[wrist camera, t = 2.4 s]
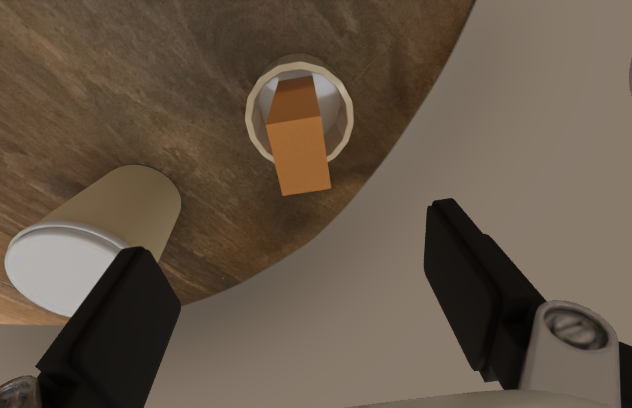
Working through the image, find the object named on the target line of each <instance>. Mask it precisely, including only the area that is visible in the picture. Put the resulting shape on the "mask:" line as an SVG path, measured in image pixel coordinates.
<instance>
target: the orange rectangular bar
mask: <svg viewBox="0 0 632 408" xmlns="http://www.w3.org/2000/svg"><path fill="white" fill-rule="evenodd" d="M266 129H267V133H268V137H269V141H270V146H271V150H272V154H273V158H274V162H275V166H276V170H277V174H278V179H279V183H280V187H281V191H282V195H283V196H285V195H291V194H298V193H305V192H311V191H318V190H324V189H330V188H331V184H330V177H329V170H328V162H327V155H326V148H325V141H324V134H323V127H322V120H321V114H320V109H319V104H318V100H317V95H316V90H315V85H314V81H313V76H306V77H300V78H294V79H288V80H282V81H278V84H277V88H276V91H275V94H274V98H273V101H272V105H271V108H270V112H269V115H268V119H267V122H266Z"/></svg>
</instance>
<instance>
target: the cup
mask: <svg viewBox="0 0 632 408" xmlns="http://www.w3.org/2000/svg"><path fill="white" fill-rule="evenodd" d="M306 76H313V81H314V85H315V90H316V95H317V100H318V104H319V109H320V114H321V120H322V127H323V134H324V141H325V148H326V155H327V162H329V161H330V160H332V159H334V158H335V157H336V156H337V155H338V154H339V153H340V151H341V150H342V149H343V148H344V146H345V145H346V144H347V142H348V140H349V137H350V134H351V131H352V128H353V125H354V116H353V104H352V100H351V98H350V96H349V94H348V92H347V91H346V89H345V87H344V85H343V83H342V81H341V80H340V78H339V76H338V75H337V73H336V71H335V70H334V69H333V68H331V67H330V66H329V65H328V64H327V63H326V62H324V61H323V60H321V59H320V58H317V57H315V56H312V55H308V54H302V53H297V54H289V55H285V56H282V57H280V58H278V59H277V60H275V61H273V62H272V63H271V64H270V65H268V66H267V67H266V68H265V69H264V71H263V72H262V74H261V76H260V77H259V79H258V81H257V82H256V84H255V86H254V87H253V89H252V91H251V92H250V94H249V96H248V98H247V105H246V113H245V122H246V126H247V130H248V133H249V137H250V139H251V141H252V142H253V144H254V145H255V146H256V148H257V149H258V150H259V152H260V153H261V154H262V156H264V157H265V158H267V159H268V160H270V161H272V162H273V163H275V162H274V158H273V154H272V150H271V146H270V141H269V137H268V133H267V129H266V122H267V119H268V115H269V112H270V108H271V105H272V101H273V98H274V94H275V91H276V88H277V84H278V81H282V80H288V79H294V78H300V77H306Z"/></svg>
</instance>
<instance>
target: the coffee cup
mask: <svg viewBox="0 0 632 408" xmlns="http://www.w3.org/2000/svg"><path fill="white" fill-rule="evenodd" d="M180 210H181V197H180V194H179V192H178V190H177V188H176V186H175V185H174V184H173V182H172V181H171V180H170V179H169V178H168V177H166V176H165V175H164V174H162V173H161V172H159V171H157V170H155V169H153V168H150V167H147V166H142V165H126V166H121V167H119V168H116V169H114V170H113V171H111V172H110V173H108V174H106V175H105V176H103V177H102V178H101V179H99V180H98V181H96V182H95V183H93V184H92V185H90V186H89V187H87V188H86V189H84V190H83V191H81V192H80V193H78V194H77V195H76V196H74V197H73V198H71V199H70V200H68V201H67V202H65V203H64V204H63V205H61V206H60V207H58V208H57V209H55V210H54V211H52V212H51V213H49V214H48V215H47V216H45V217H44V218H43V219H41V220H40V221H39V222H37V223H36V224H34V225H31V226H29V227H27V228H25V229H24V230H22V231H21V232H20V233H18V234H17V235H16V236H15V237H14V238H13V239H12V241H11V243H10V244H9V247H8V251H7V253H6V256H5V269H6V273H7V275H8V277H9V279H10V281H11V282H12V283H13V285H14V286H15V287H16V288H17V289H18V290H19V291H20V292H21V293H22V294H23V295H24V296H25V297H27V298H28V299H29V300H31V301H32V302H34V303H36V304H37V305H39V306H41V307H43V308H45V309H47V310H49V311H52V312H55V313H57V314H61V315H64V316H68V317H72V316H73V314H74V313H75V312H76V310H77V309H78V308H79V306H80V305H81V303H82V302H83V301H84V299H85V298H86V297H87V295H88V294H89V293H90V291H91V290H92V288H93V287H94V286H95V284H96V283H97V282H98V280H99V279H100V277H101V276H102V275H103V273H104V272H105V271H106V269H107V268H108V267H109V265H110V264H111V262H112V261H113V260H114V258H115V257H116V256H117V254H118V253H119V252H120V251H121V250H122V249H124V248H130V247H136V246H142V247H144V248H145V249H148V250H150V252H151V253H152V255H153V256H154V258H155V260H156V262H157V263H158V261H159V259H160V256H161V254H162V252H163V250H164V247H165V245H166V243H167V241H168V238H169V236H170V234H171V232H172V229H173V227H174V225H175V223H176V220H177V218H178V215H179V213H180Z"/></svg>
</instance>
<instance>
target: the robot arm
mask: <svg viewBox="0 0 632 408" xmlns="http://www.w3.org/2000/svg"><path fill="white" fill-rule="evenodd" d="M425 235H426V236H425V251H424V271H425V275H426V277H427V279H428V281H429V283H430V285H431V287H432V289H433V291H434V293H435V295H436V297H437V299H438V301H439V304H440V306H441V308H442V310H443V312H444V314H445V316H446V318H447V320H448V322H449V324H450V326H451V328H452V330H453V332H454V334H455V336H456V338H457V340H458V342H459V344H460V346H461V348H462V350H463V352H464V354H465V356H466V358H467V360H468V362H469V364H470V366H471V368H472V369H473V370H474V371H479V372H480V374H481V376H482V378H483V380H484V382H491V381H499V382H500V384H501V386H502V388H503V389H504V390H501V391H485V392H484V391H483V392H472V393H463V394H454V395H444V396H437V397H436V396H435V397H427V398H417V399H409V400H401V401H394V402H386V403H378V404H371V405H364V406H355V407H348V408H632V346H629V345H627V344H624V343H622V342H619V341H618V338H617V335H616V332H615V331H614V330H613V328H612V327H611V325H610V324H609V323H608V322H607V321H606V320H605V319H604V318H602V317H601V316H600V315H599V314H597V313H595V312H594V311H592V310H590V309H589V308H586V307H584V306H582V305H579V304H576V303H572V302H568V301H558V300H553V301H549V302H547V301H546V300H545V299H544V298H543V297H542V296H541V294H540V293H539V292H538V291H537V290H536V289H535V288H534V286H533V285H532V284H531V283H530V282H529V281H528V279H527V278H526V277H525V276H524V275H523V274H522V272H521V271H520V270H519V269H518V268H517V267H516V265H515V264H514V263H513V262H512V261H511V260H510V259H509V257H508V256H507V255H506V254H505V253H504V252H503V250H501V248H500V247H499V246H498V245H497V244H496V242H495V241H494V240H493V239H492V238H491V237H490V236H489V235H486V234H483V233H482V232H481V231H480V230H479V229H478V227H477V226H476V225H475V224H474V223H473V221H472V220H471V219H470V218H469V217H468V216H467V214H466V213H465V212H464V211H463V210H462V208H461V207H460V206H459V205H458V204H457V202H456V201H455V200H454V199H452V198H448V199H442V200H435V201H433V203H432V206H428V208H427V219H426V234H425ZM180 310H181V304H180V301H179V299H178V298H177V296H176V294H175V293H174V291H173V289H172V287H171V286H170V284H169V282H168V280H167V279H166V277H165V275H164V274H163V272H162V270H161V268H160V267H159V265H158V263H157V262H156V260H155V258H154V256H153V255H152V253H151V252H150V250H148V249H145V248H144V247H142V246H136V247H130V248H124V249H122V250H121V251H120V252H119V253H118V254H117V256H116V257H115V258H114V260H113V261H112V262H111V264H110V265H109V267H108V268H107V269H106V271H105V272H104V273H103V275H102V276H101V277H100V279H99V280H98V282H97V283H96V284H95V286H94V287H93V288H92V290H91V291H90V293H89V294H88V295H87V297H86V298H85V299H84V301H83V302H82V303H81V305H80V306H79V308H78V309H77V310H76V312H75V313H74V314H73V316H72V317H71V318H70V320H69V321H68V323H67V324H66V325H65V327H64V328H63V330H62V331H61V332H60V333H59V335H58V337H57V338H56V339H55V340H54V342H53V343H52V345H51V346H50V347H49V349H48V350H47V351H46V353H45V354H44V355H43V357H42V358H41V359H40V361H39V362H38V364H37V365H36V366H35V367H36V368H38V369H39V370H40V371H41V373H40V374H39V376H38V377H37V378H35V377H32V376H21V377H18V378H15V379H12V380H10V381H8V382H7V383H5V384H3V385H1V386H0V408H144V405H145V403H146V400H147V397H148V395H149V392H150V390H151V387H152V384H153V382H154V379H155V377H156V374H157V371H158V369H159V366H160V363H161V361H162V358H163V356H164V353H165V350H166V348H167V345H168V343H169V340H170V337H171V335H172V332H173V329H174V327H175V324H176V322H177V319H178V316H179V314H180Z"/></svg>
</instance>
